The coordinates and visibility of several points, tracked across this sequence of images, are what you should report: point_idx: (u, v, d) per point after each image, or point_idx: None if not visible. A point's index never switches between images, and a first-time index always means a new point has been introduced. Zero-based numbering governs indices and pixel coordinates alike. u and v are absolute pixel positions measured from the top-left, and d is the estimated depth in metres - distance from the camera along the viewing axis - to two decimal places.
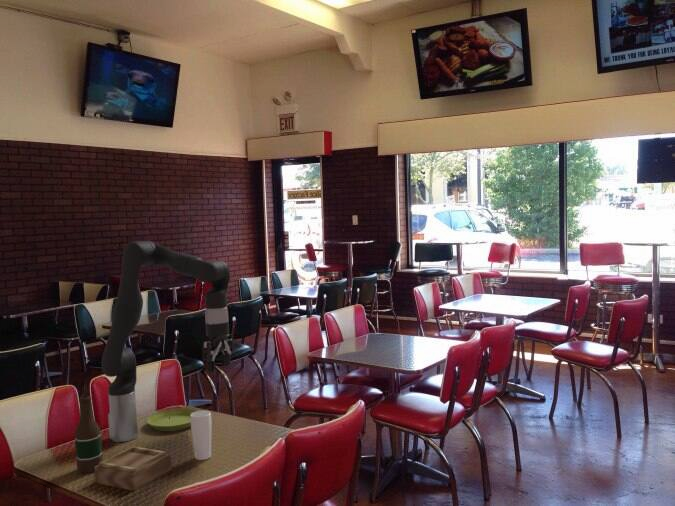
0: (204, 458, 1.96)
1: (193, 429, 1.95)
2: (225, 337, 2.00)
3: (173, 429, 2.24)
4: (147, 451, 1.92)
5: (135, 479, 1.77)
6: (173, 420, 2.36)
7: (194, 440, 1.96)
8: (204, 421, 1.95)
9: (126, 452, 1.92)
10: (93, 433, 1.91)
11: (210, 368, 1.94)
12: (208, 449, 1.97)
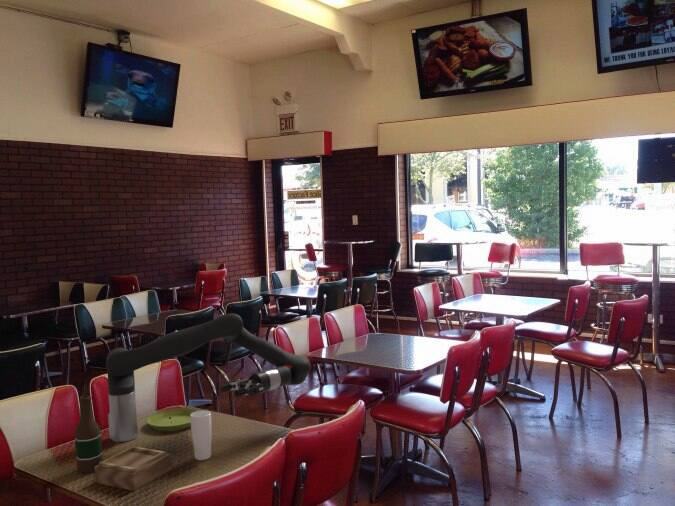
0: (204, 458, 1.96)
1: (193, 429, 1.95)
2: None
3: (173, 429, 2.24)
4: (147, 451, 1.92)
5: (135, 479, 1.77)
6: (173, 420, 2.36)
7: (194, 440, 1.96)
8: (204, 421, 1.95)
9: (126, 452, 1.92)
10: (93, 433, 1.91)
11: (240, 394, 2.02)
12: (208, 449, 1.97)
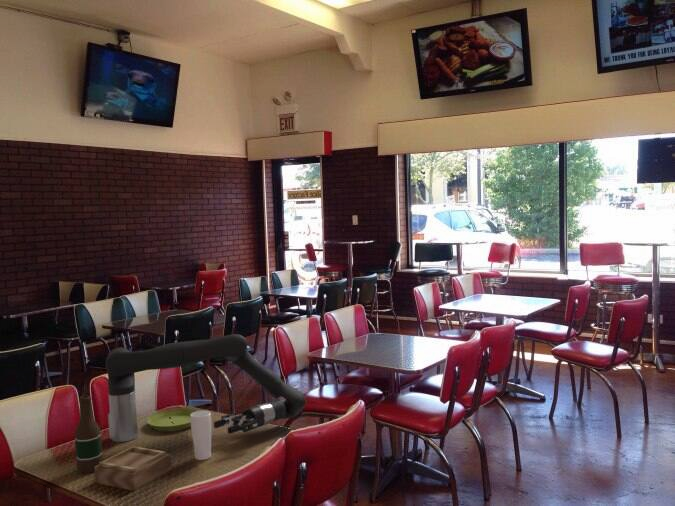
0: (204, 458, 1.96)
1: (193, 429, 1.95)
2: None
3: (173, 429, 2.24)
4: (147, 451, 1.92)
5: (135, 479, 1.77)
6: (173, 420, 2.36)
7: (194, 440, 1.96)
8: (204, 421, 1.95)
9: (126, 452, 1.92)
10: (93, 433, 1.91)
11: (233, 431, 2.01)
12: (208, 449, 1.97)
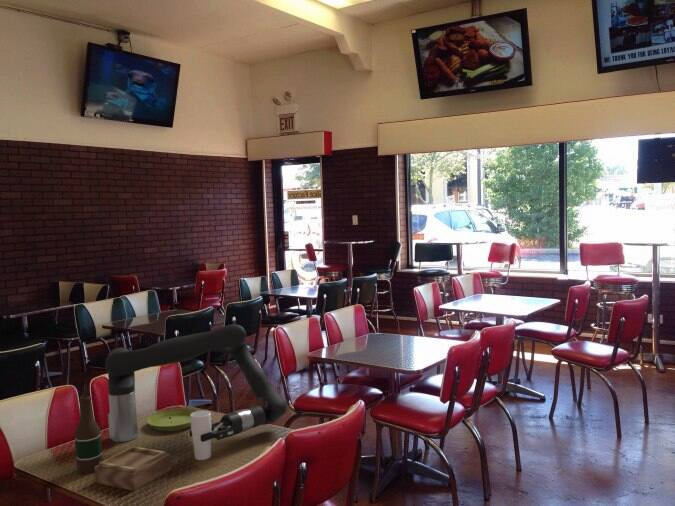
0: (204, 458, 1.96)
1: (193, 429, 1.95)
2: None
3: (173, 429, 2.24)
4: (147, 451, 1.92)
5: (135, 479, 1.77)
6: (174, 420, 2.36)
7: (194, 440, 1.96)
8: (204, 421, 1.95)
9: (126, 452, 1.92)
10: (93, 433, 1.91)
11: (206, 439, 1.94)
12: (208, 449, 1.97)
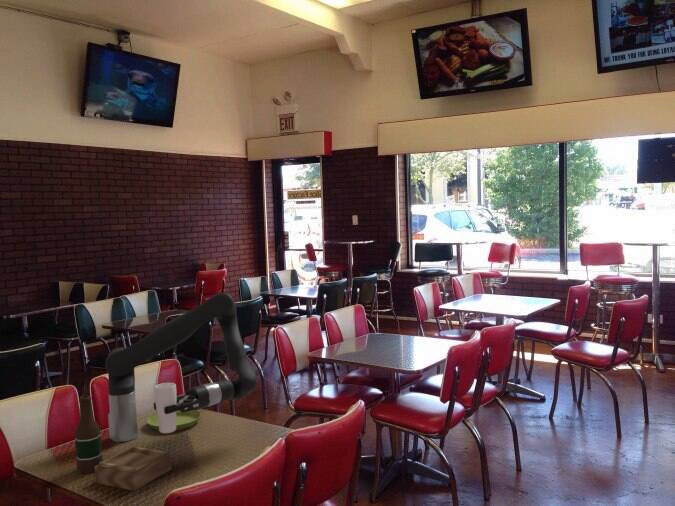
0: (168, 431, 1.90)
1: (157, 401, 1.89)
2: None
3: None
4: (147, 451, 1.92)
5: (135, 479, 1.77)
6: None
7: (158, 412, 1.90)
8: (168, 393, 1.89)
9: (126, 452, 1.92)
10: (93, 433, 1.91)
11: (170, 411, 1.88)
12: (173, 422, 1.91)
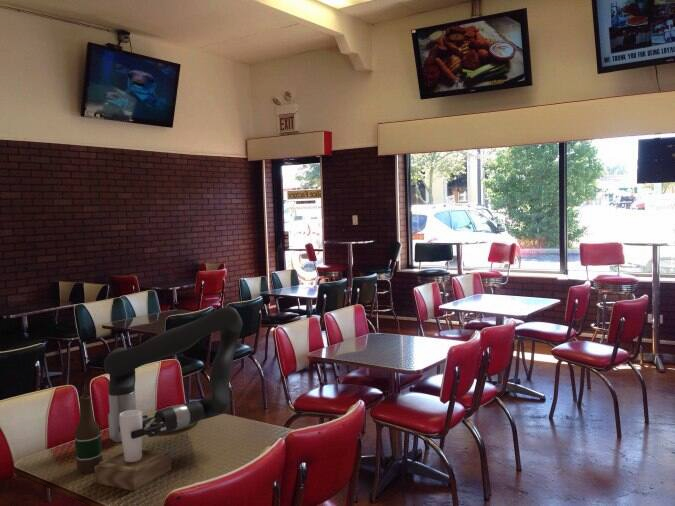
0: (133, 460, 1.84)
1: (121, 429, 1.83)
2: None
3: None
4: (147, 451, 1.92)
5: (135, 479, 1.77)
6: None
7: (123, 441, 1.84)
8: (133, 421, 1.83)
9: None
10: (93, 433, 1.91)
11: (137, 435, 1.82)
12: (138, 451, 1.85)
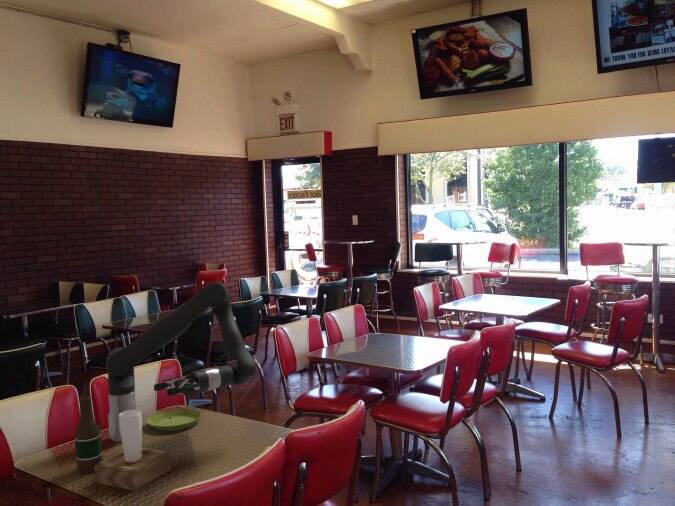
0: (133, 460, 1.84)
1: (121, 430, 1.83)
2: None
3: (173, 429, 2.24)
4: (147, 451, 1.92)
5: (135, 479, 1.77)
6: (173, 420, 2.36)
7: (123, 441, 1.84)
8: (133, 421, 1.83)
9: None
10: (93, 433, 1.91)
11: (172, 393, 1.90)
12: (138, 451, 1.85)
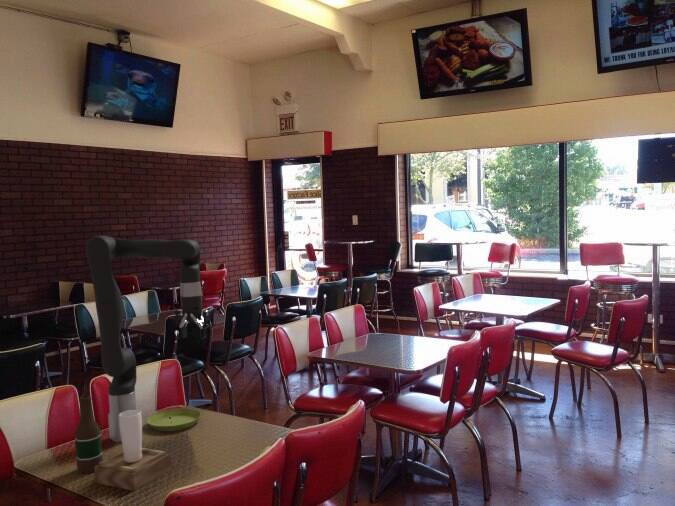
0: (133, 460, 1.84)
1: (121, 430, 1.83)
2: None
3: (173, 429, 2.24)
4: (147, 451, 1.92)
5: (135, 479, 1.77)
6: (173, 420, 2.36)
7: (123, 441, 1.84)
8: (133, 421, 1.83)
9: None
10: (93, 433, 1.91)
11: (205, 334, 2.16)
12: (138, 451, 1.85)
